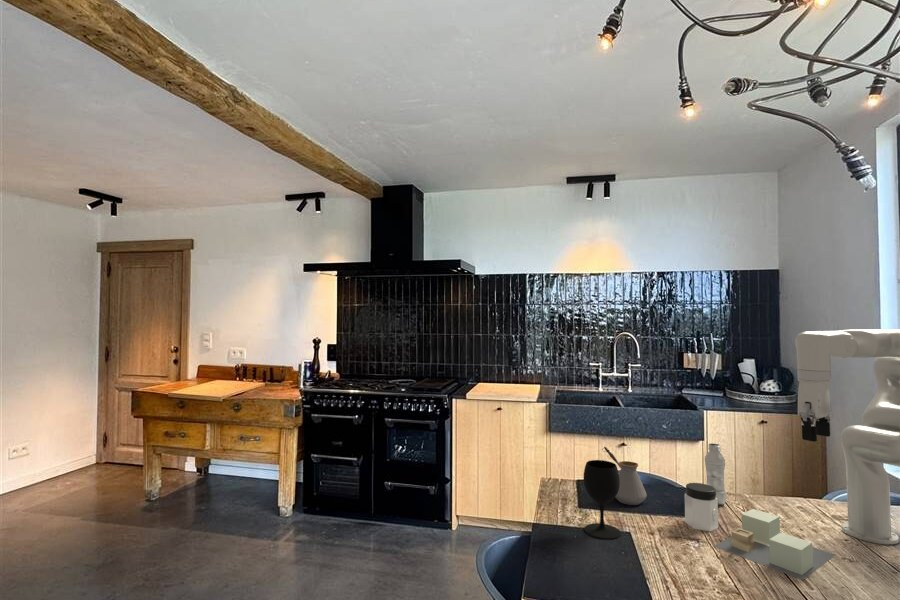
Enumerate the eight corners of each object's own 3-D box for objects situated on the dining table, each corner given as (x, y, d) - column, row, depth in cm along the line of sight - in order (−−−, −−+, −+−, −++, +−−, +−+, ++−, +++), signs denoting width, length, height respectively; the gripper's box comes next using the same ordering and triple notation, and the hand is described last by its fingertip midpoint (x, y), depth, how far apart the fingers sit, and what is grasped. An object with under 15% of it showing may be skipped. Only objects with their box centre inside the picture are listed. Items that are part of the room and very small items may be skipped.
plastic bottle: (702, 503, 163) (701, 444, 164) (708, 498, 167) (707, 441, 168) (723, 508, 158) (721, 448, 159) (729, 503, 163) (727, 444, 164)
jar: (707, 535, 138) (706, 494, 139) (680, 525, 145) (679, 486, 146) (722, 528, 143) (721, 488, 144) (696, 518, 150) (695, 480, 150)
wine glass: (621, 542, 134) (619, 471, 135) (583, 536, 137) (582, 467, 138) (620, 527, 144) (619, 460, 145) (585, 522, 147) (584, 457, 148)
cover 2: (781, 555, 125) (780, 532, 125) (813, 566, 119) (812, 542, 120) (770, 563, 121) (769, 539, 121) (802, 575, 115) (801, 550, 116)
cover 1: (753, 529, 141) (752, 508, 141) (780, 538, 135) (779, 516, 135) (742, 535, 137) (741, 514, 137) (769, 544, 131) (768, 522, 131)
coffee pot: (654, 505, 161) (653, 461, 162) (624, 508, 158) (623, 463, 159) (618, 484, 182) (617, 445, 182) (591, 487, 179) (590, 447, 180)
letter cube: (738, 542, 132) (738, 527, 133) (754, 548, 129) (753, 532, 129) (731, 546, 130) (731, 531, 130) (747, 552, 127) (747, 536, 127)
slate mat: (750, 528, 143) (750, 526, 143) (836, 556, 125) (835, 554, 126) (713, 548, 130) (713, 545, 130) (802, 582, 113) (802, 579, 113)
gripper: (810, 373, 140) (812, 431, 139) (785, 377, 130) (787, 439, 130) (841, 375, 134) (844, 436, 133) (818, 379, 124) (821, 445, 123)
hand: (816, 438), depth 131 cm, fingers open, 9 cm apart
